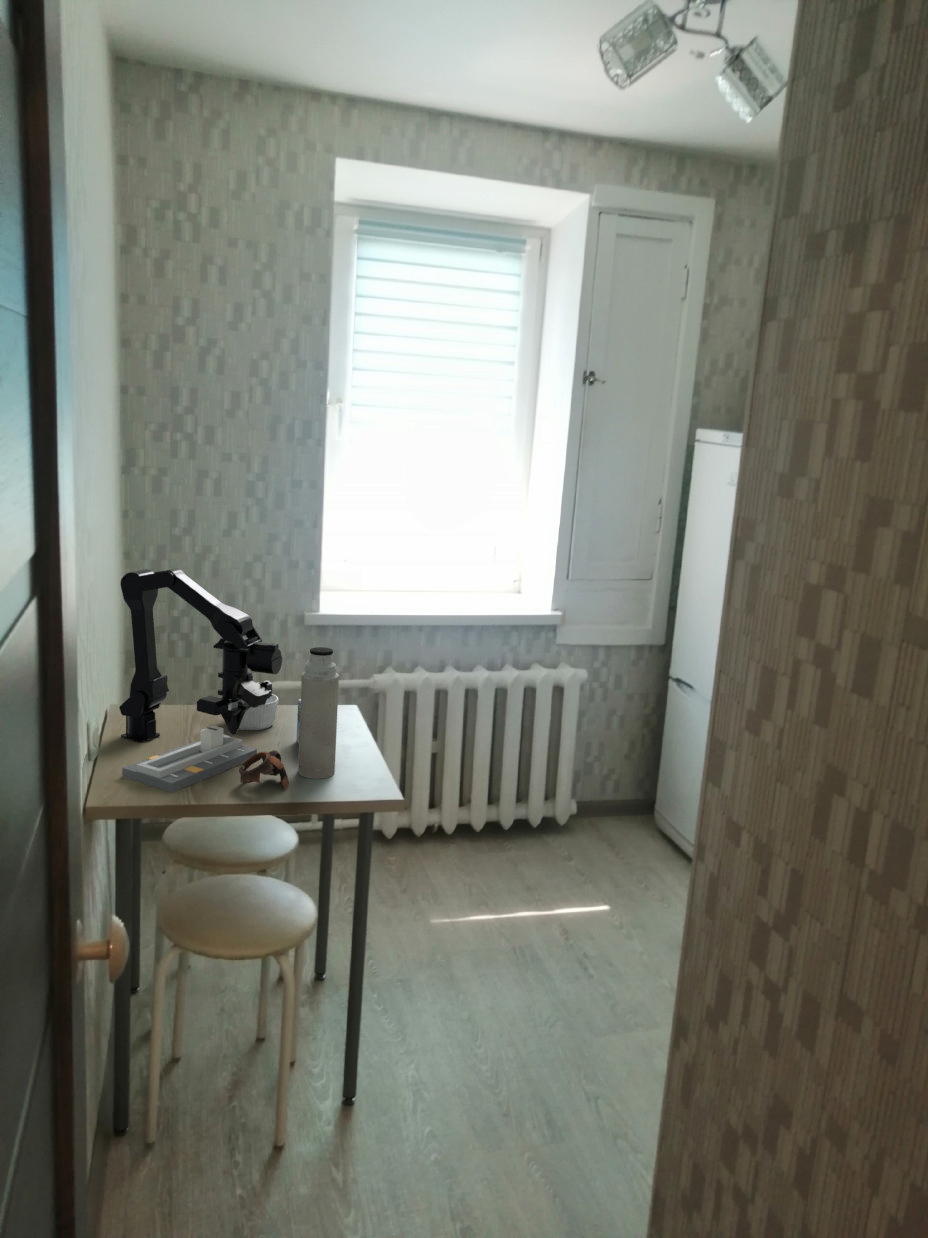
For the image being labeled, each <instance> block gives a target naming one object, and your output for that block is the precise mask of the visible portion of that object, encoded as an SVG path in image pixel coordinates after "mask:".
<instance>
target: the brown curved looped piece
mask: <svg viewBox="0 0 928 1238" xmlns="http://www.w3.org/2000/svg"><path fill="white" fill-rule="evenodd" d="M260 760H262V762H261V763H260V764H259V765H257V766H255V767H254V768H251V769H250V770H248V769H249V768H250V767H251V766H252V765H254V764H255V763H257V762H258V761H260ZM238 773H239V774H240V777H239V778H240V783H242V784H243V785H246V784H251V783H255V782H256V783H257V784H261V780H260V779H261V775H266V776H275V777H276V776H278V775H279V779H280V783H281V785H282V788H283V790H284V791H286V790H288V788H289V786H290V782H289V777H288V776H289V775H288V774H287V770H286V768H285V765H284V764H283V763H282V756H281V754H280V752H279V751H278V750H270V751H265V750H264V751H259V752H257V753H256V754H254V755H253V756H251V757H249V758H248V759H247V760H246V761H244V762H243V763H242V766H240V767H239V768H238Z"/></svg>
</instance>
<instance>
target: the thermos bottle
mask: <svg viewBox="0 0 928 1238" xmlns="http://www.w3.org/2000/svg"><path fill="white" fill-rule="evenodd" d="M309 653H310V655H309V661H307V662H306V663H305V664H304V665H305V666H304V671H303V672H302V673H301V684H300V685H301V686H300V688H301V689H300V690H301V694H300V699H301V707H300V735H299V743H298V763H297V764H298V766H297V769H298V770H297V772H298V774H299V775H300V776H301V777H304V778H307V779H315V780H316V779H326V778H329V777H332V776H334V774H335V772H336V754H337V753H336V749H337V732H338V731H337V729H338V728H337V726H338V708H339V707H338V706H339V704H338V703H339V684H340V681H339V680H340V674H339V673H337V669H338V667H337V664H336V663H335V662H333V654H334V649H332V648H329V647H325V646H324V647H323V646H319V647H318V646H317V647H311V648H310V649H309Z"/></svg>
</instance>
